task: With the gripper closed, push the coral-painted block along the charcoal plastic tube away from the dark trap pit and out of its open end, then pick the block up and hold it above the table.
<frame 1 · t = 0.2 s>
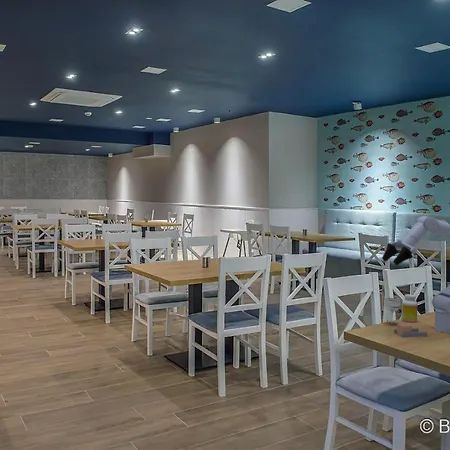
hand: (389, 261, 205), 31 cm above the table, tool tilted 45°, fingers open, 7 cm apart
block: (403, 334, 205), point 1 cm above the table, touching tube
supplement bottle: (408, 323, 228), on the table
wineglass: (391, 327, 222), on the table
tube: (410, 337, 206), on the table
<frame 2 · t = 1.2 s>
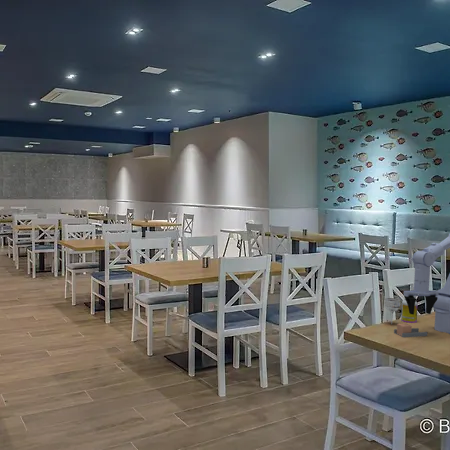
hand: (419, 313, 206), 10 cm above the table, tool pointing down, fingers open, 7 cm apart
nothing on the table moved.
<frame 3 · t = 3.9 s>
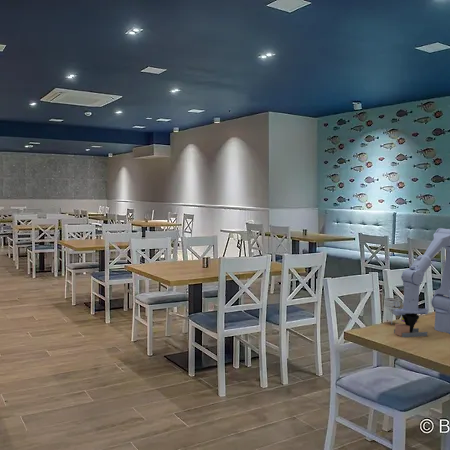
hand: (409, 331, 205), 2 cm above the table, tool pointing down, fingers closed, pressing on block
block: (402, 334, 205), point 1 cm above the table, touching gripper
everything else where it was.
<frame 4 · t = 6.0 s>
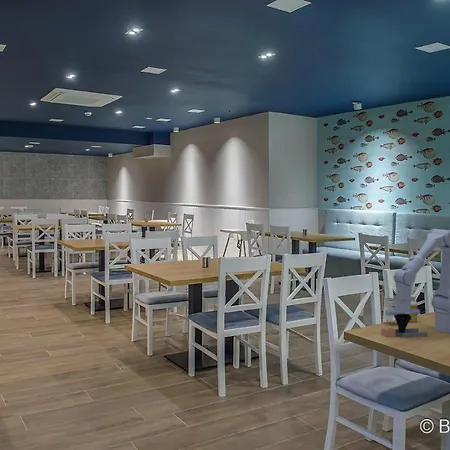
hand: (401, 332, 205), 2 cm above the table, tool pointing down, fingers closed
block: (392, 333, 204), point 2 cm above the table, tilted 90°
everything else where it was.
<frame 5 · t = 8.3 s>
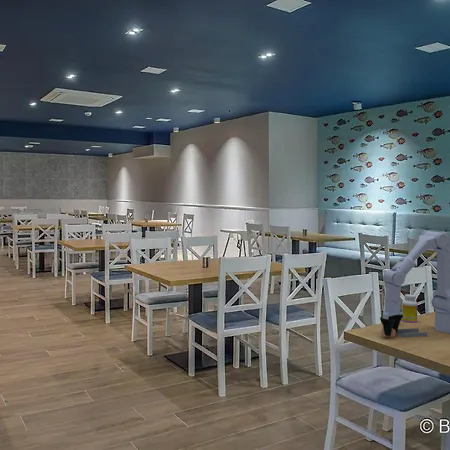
hand: (390, 333, 203), 2 cm above the table, tool pointing down, fingers open, 7 cm apart
nothing on the table moved.
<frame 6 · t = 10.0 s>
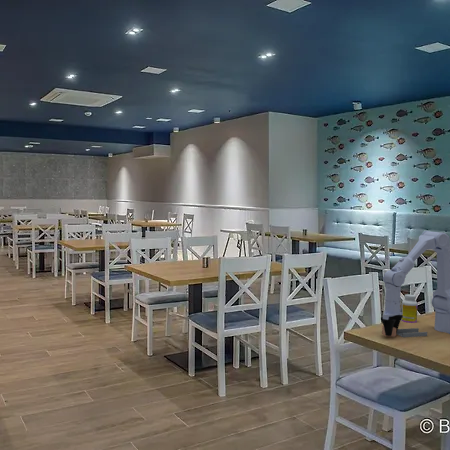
hand: (391, 333, 203), 2 cm above the table, tool pointing down, fingers closed on block, 6 cm apart
block: (393, 331, 204), point 2 cm above the table, tilted 90°, touching gripper
everything else where it was.
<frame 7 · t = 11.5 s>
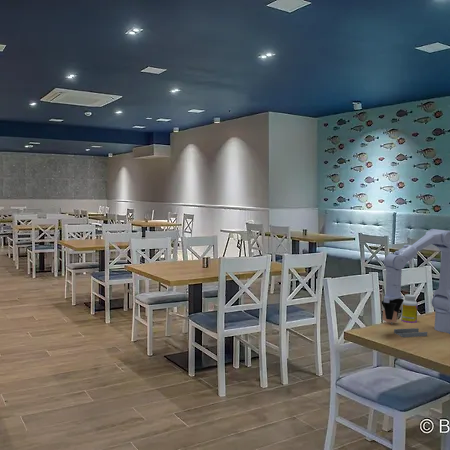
hand: (391, 317, 203), 8 cm above the table, tool pointing down, fingers closed on block, 6 cm apart
block: (394, 315, 204), point 9 cm above the table, tilted 90°, touching gripper
everything else where it was.
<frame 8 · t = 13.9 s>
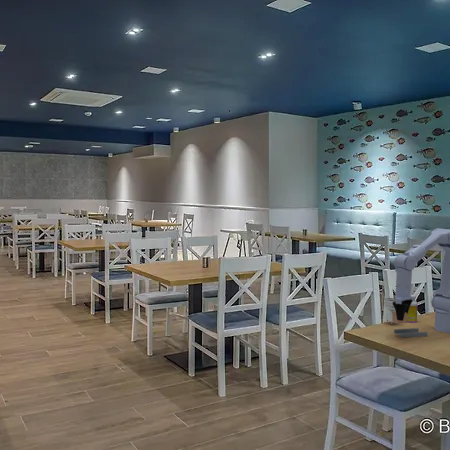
hand: (402, 318, 202), 8 cm above the table, tool pointing down, fingers closed on block, 6 cm apart
block: (404, 316, 203), point 9 cm above the table, tilted 90°, touching gripper
everything else where it was.
at the end: the gripper is holding block; block point 9.0 cm above the table; block moved 8.0 cm from its start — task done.
